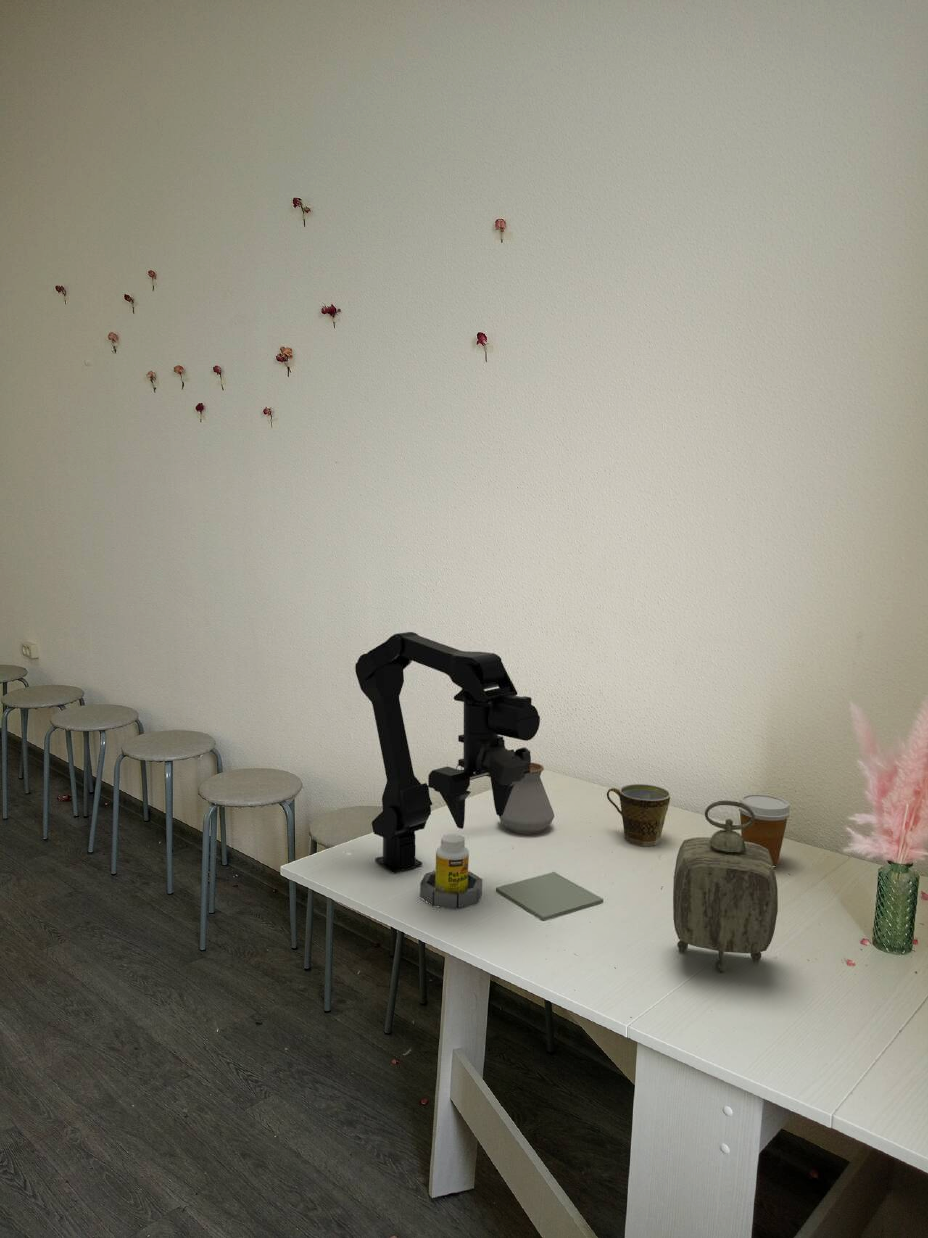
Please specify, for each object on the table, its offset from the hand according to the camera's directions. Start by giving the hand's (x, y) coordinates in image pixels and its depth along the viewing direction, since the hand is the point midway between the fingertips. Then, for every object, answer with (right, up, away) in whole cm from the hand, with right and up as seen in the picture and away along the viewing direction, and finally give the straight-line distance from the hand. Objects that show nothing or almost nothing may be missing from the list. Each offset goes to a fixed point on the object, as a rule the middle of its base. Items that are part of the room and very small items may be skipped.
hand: (480, 821), depth 157 cm
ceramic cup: (+31, -10, +31) cm, 45 cm away
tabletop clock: (+35, -17, -18) cm, 43 cm away
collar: (-5, -13, +3) cm, 14 cm away
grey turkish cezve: (+5, -9, +34) cm, 35 cm away
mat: (+12, -14, +3) cm, 18 cm away
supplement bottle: (-5, -13, +3) cm, 14 cm away
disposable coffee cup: (+53, -12, +21) cm, 58 cm away
